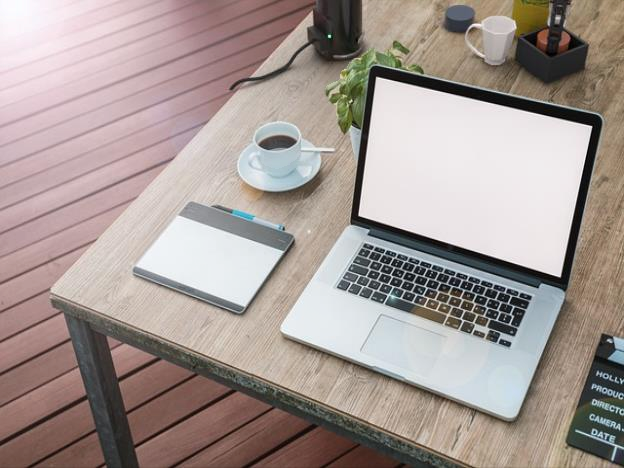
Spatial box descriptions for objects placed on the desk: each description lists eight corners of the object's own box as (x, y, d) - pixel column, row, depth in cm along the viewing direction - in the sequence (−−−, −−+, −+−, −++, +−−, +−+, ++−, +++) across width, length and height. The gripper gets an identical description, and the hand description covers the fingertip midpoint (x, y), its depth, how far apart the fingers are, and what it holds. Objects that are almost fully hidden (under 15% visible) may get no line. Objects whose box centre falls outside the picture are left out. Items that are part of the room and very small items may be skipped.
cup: (506, 72, 167) (511, 37, 162) (458, 61, 171) (461, 27, 165) (516, 53, 172) (521, 18, 166) (469, 43, 175) (472, 9, 169)
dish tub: (545, 84, 164) (550, 60, 160) (514, 60, 170) (517, 36, 166) (584, 68, 167) (589, 44, 163) (551, 45, 173) (556, 21, 169)
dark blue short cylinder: (455, 34, 178) (456, 23, 176) (438, 21, 181) (439, 10, 179) (479, 26, 180) (480, 14, 178) (462, 13, 183) (463, 1, 181)
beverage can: (540, 47, 173) (549, -6, 164) (501, 33, 177) (508, -19, 169) (561, 27, 178) (571, -25, 169) (523, 14, 182) (530, -37, 173)
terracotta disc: (566, 59, 163) (569, 47, 161) (534, 56, 165) (536, 43, 163) (568, 42, 167) (571, 30, 165) (536, 39, 169) (539, 27, 167)
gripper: (549, -55, 159) (536, 23, 171) (542, -17, 149) (529, 62, 161) (590, -52, 157) (574, 27, 169) (585, -13, 148) (569, 67, 160)
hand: (552, 44), depth 165 cm, fingers closed on terracotta disc, 6 cm apart
